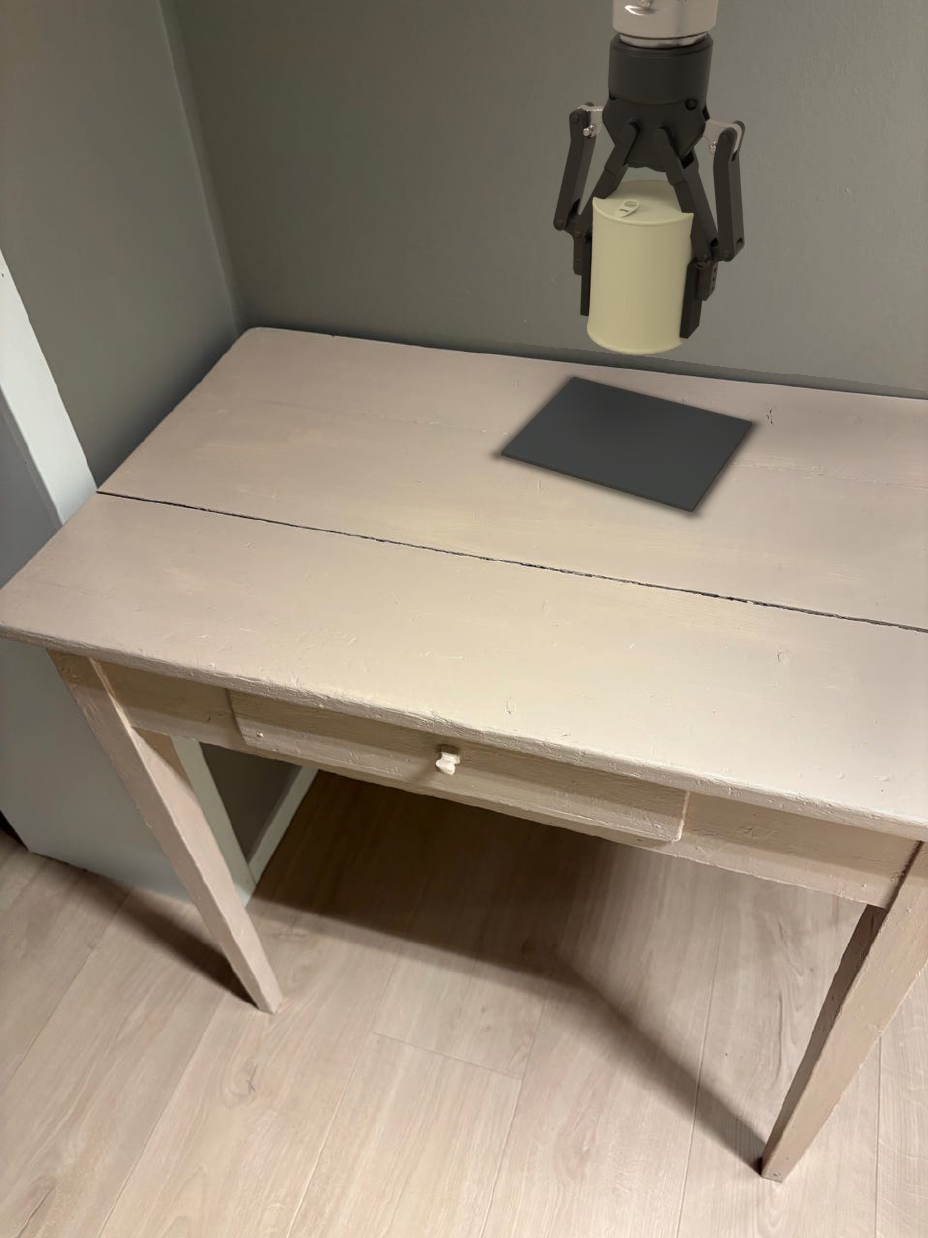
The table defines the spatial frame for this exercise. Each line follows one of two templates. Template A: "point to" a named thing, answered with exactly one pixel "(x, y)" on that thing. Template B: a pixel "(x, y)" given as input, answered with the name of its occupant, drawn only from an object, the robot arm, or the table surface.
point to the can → (639, 268)
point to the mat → (630, 442)
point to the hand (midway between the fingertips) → (638, 319)
